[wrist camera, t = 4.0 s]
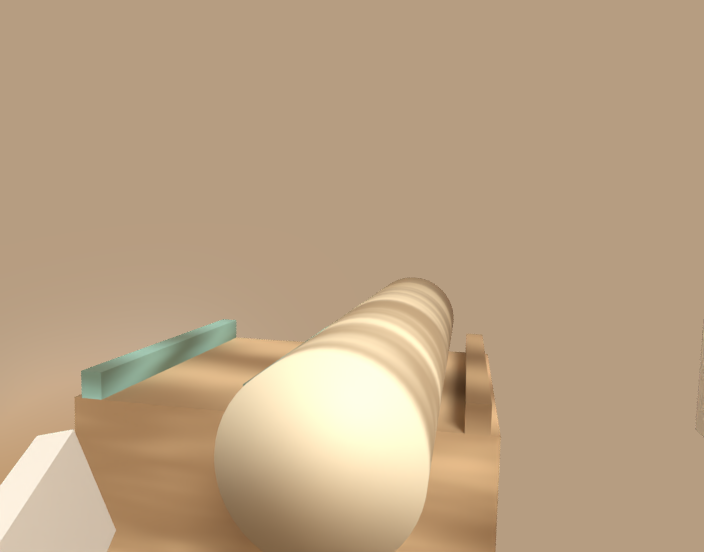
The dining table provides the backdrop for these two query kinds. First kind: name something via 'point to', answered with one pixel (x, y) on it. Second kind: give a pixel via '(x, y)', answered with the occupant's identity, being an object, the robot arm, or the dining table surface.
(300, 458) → the cream rounded cylinder
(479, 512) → the tall wooden crate
